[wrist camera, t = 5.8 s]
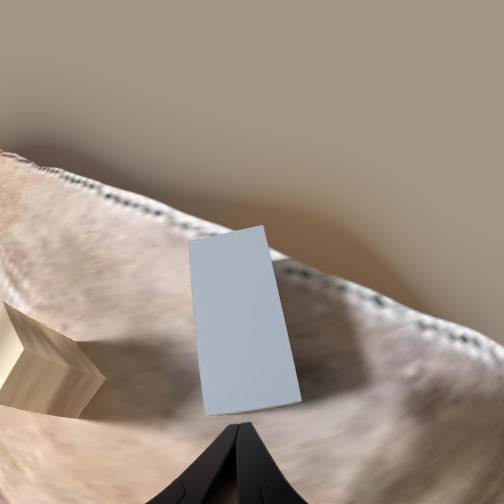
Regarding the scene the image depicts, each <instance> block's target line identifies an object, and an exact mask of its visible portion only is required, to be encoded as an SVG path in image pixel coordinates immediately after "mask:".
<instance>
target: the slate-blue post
mask: <svg viewBox="0 0 504 504" xmlns="http://www.w3.org/2000/svg"><path fill="white" fill-rule="evenodd" d="M189 255H190V272H191V287H192V300H193V312H194V324H195V334H196V344H197V353H198V362H199V371H200V379H201V387H202V395H203V402H204V409H205V416H214V415H231V414H239V413H246V412H253V411H259V410H265V409H271V408H276V407H281V406H286V405H291V404H296V403H300V402H301V401H302V399H301V394H300V389H299V385H298V380H297V375H296V370H295V366H294V361H293V356H292V352H291V347H290V342H289V338H288V333H287V328H286V324H285V319H284V315H283V310H282V306H281V301H280V297H279V292H278V288H277V283H276V279H275V275H274V270H273V266H272V261H271V257H270V253H269V248H268V244H267V240H266V236H265V231H264V227H263V225H261V226H257V227H252V228H247V229H243V230H238V231H233V232H229V233H224V234H220V235H215V236H211V237H207V238H202V239H198V240H193V241H189Z"/></svg>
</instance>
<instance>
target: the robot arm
mask: <svg viewBox="0 0 504 504" xmlns="http://www.w3.org/2000/svg"><path fill="white" fill-rule="evenodd" d="M145 504H308V503H307V502H306V501H305V500H304V499H303V498H302V497H301V496H300V495H299V494H298V493H297V492H296V491H295V490H294V489H293V488H292V486H291V485H290V484H289V482H288V481H287V480H286V478H285V477H284V475H283V474H282V472H281V471H280V469H279V468H278V466H277V465H276V463H275V461H274V460H273V458H272V457H271V455H270V453H269V452H268V450H267V448H266V447H265V445H264V443H263V442H262V440H261V438H260V437H259V435H258V433H257V431H256V430H255V428H254V426H253V424H252V423H251V422H245V423H241V424H230V425H228V426H227V427H226V428H225V429H224V431H223V432H222V433H221V434H220V435H219V436H218V437H217V438H216V439H215V440H214V441H213V442H212V443H211V444H210V446H209V447H208V448H207V449H206V450H205V451H204V452H203V453H202V454H201V455H200V456H199V457H198V458H197V459H196V460H195V461H194V462H193V463H192V464H191V465H190V466H189V467H188V468H187V469H186V470H185V471H184V472H183V473H182V474H181V475H180V476H179V477H178V478H176V479H175V480H174V481H173V482H172V483H171V484H170V485H169V486H168V487H166V488H165V489H164V490H163V491H162V492H161V493H159V494H158V495H157V496H155V497H154V498H153V499H151V500H150V501H148V502H147V503H145Z"/></svg>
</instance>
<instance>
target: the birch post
mask: <svg viewBox="0 0 504 504" xmlns="http://www.w3.org/2000/svg"><path fill="white" fill-rule="evenodd" d="M105 380H106V378H105V377H104V376H103V375H102V373H101V372H100V371H99V370H98V369H97V368H96V366H95V365H94V364H93V363H92V362H91V360H90V359H89V358H88V357H87V355H86V354H85V353H84V352H83V350H82V349H81V348H80V346H79V345H78V344H77V342H76V341H74V340H72V339H70V338H68V337H66V336H64V335H62V334H60V333H58V332H56V331H54V330H52V329H50V328H48V327H46V326H44V325H43V324H41V323H39V322H37V321H35V320H34V319H32V318H30V317H28V316H27V315H25V314H23V313H21V312H20V311H18V310H16V309H15V308H13V307H11V306H10V305H8V304H7V303H5V302H4V301H2V302H1V304H0V404H1V405H5V406H9V407H13V408H17V409H22V410H26V411H31V412H36V413H42V414H47V415H53V416H60V417H67V418H74V419H77V418H78V417H79V416H80V414H81V413H82V411H83V410H84V409H85V407H86V406H87V404H88V403H89V402H90V400H91V399H92V398H93V396H94V395H95V394H96V392H97V391H98V389H99V388H100V387H101V385H102V384H103V383H104V381H105Z"/></svg>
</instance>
